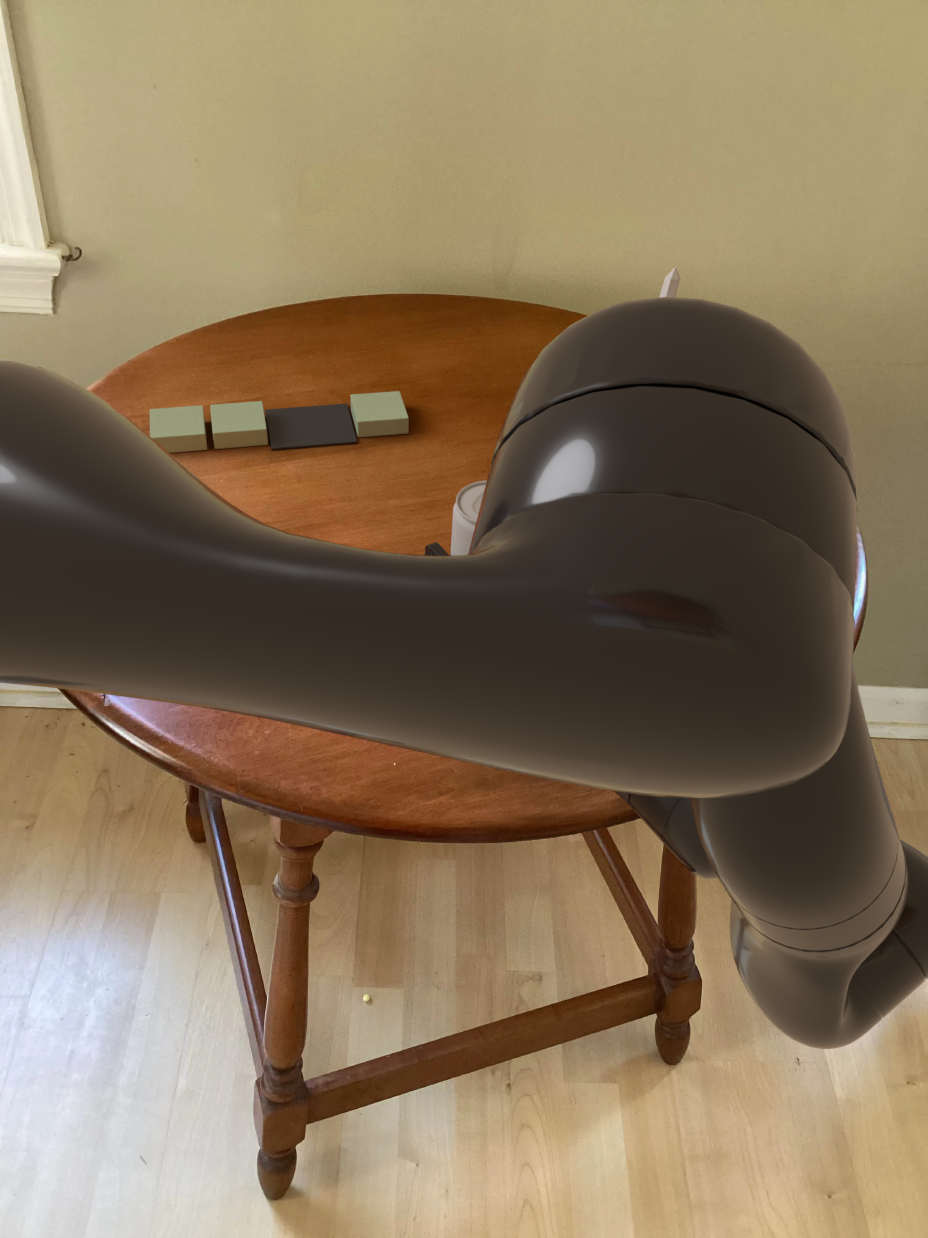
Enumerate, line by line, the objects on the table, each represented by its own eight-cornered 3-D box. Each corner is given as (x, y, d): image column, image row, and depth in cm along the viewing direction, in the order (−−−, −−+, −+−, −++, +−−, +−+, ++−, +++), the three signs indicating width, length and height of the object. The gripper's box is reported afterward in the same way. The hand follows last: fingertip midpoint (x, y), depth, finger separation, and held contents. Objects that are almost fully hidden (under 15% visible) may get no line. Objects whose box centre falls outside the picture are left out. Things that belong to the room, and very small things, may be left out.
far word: (152, 459, 85) (149, 443, 84) (152, 419, 90) (149, 403, 89) (410, 438, 90) (410, 422, 88) (398, 401, 94) (398, 385, 93)
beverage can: (434, 653, 71) (441, 513, 63) (461, 609, 74) (470, 471, 66) (500, 675, 70) (516, 535, 62) (524, 629, 73) (542, 491, 65)
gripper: (735, 617, 59) (557, 463, 69) (529, 713, 53) (368, 529, 63) (707, 705, 64) (545, 550, 75) (517, 802, 58) (369, 619, 69)
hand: (464, 541), depth 69 cm, fingers closed on beverage can, 5 cm apart
